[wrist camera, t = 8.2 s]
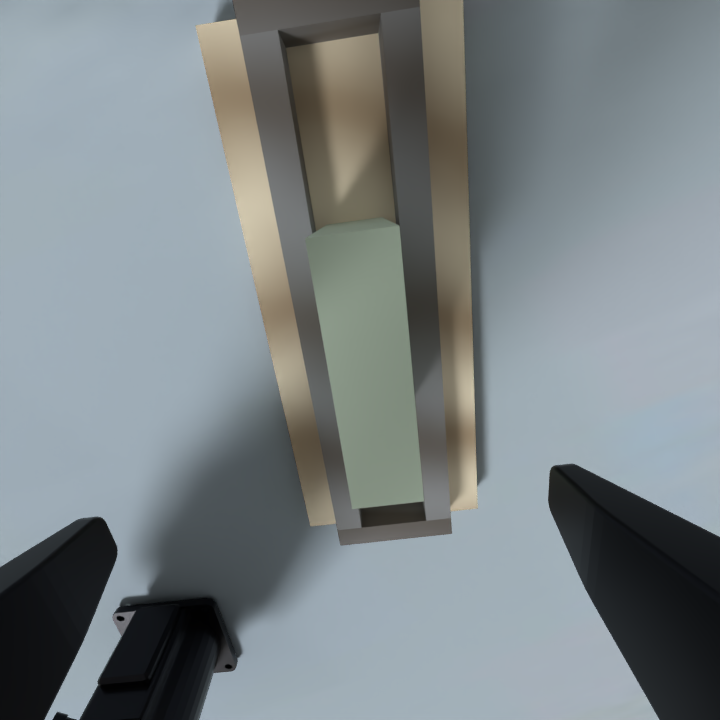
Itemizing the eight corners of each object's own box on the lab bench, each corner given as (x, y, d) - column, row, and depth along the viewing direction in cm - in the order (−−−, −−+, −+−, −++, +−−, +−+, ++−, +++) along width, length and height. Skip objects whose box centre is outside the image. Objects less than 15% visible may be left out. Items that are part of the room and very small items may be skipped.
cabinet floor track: (472, 495, 22) (486, 530, 20) (312, 512, 22) (307, 549, 20) (455, -4, 14) (475, -46, 12) (206, 37, 14) (176, 4, 12)
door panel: (400, 396, 18) (424, 501, 12) (354, 402, 19) (352, 509, 12) (381, 217, 16) (399, 225, 9) (326, 224, 16) (305, 238, 9)
